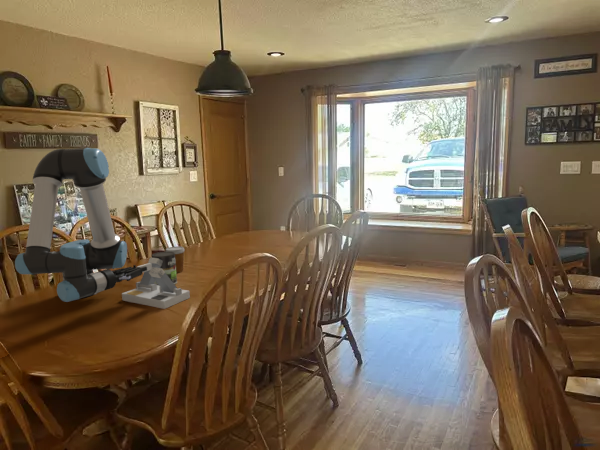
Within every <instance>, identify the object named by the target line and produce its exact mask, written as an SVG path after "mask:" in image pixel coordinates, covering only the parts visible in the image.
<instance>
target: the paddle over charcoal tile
mask: <svg viewBox="0 0 600 450" xmlns="http://www.w3.org/2000/svg"><path fill="white" fill-rule="evenodd" d="M149 274H150V275H151V276H152V277H153V279H154V280H155V281H156V282H157V284H158V285H159V286H160V287H161V288H162V290H163V291H164V292H169V293H175V289H178V288H177V286H176V284H174V283H173V282H172V281H171V279H170V278H169V277H168V276H167V274H166V273H165V272H164V270H163V269H162V268H155V267H153V268H152V269H151V270H150V272H149Z"/></svg>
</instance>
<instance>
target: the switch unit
mask: <svg viewBox="0 0 600 450" xmlns="http://www.w3.org/2000/svg"><path fill="white" fill-rule="evenodd" d="M140 282H141V280H140V281H137V282H135V288H133V289H130V290H128V291H125V292H122V293H121V297H122V298H121V299H122V301H125V302H128V303H135V304H138V305H144V306H149V307H154V308H158V309H163V310H165V309H167V308H170V307H173V306H174V305H176V304H179V303H181V302H183V301H187V300H188V299H190V298H191V296H190V295H191V294H190V290H187V289H182V288H181V287H179V288H177V289H175V293H169V292H164V291H163V290H162V288H161V287H160V286H158V285H157V284H153V285H150V287H151V288H145V287H140V286H139V283H140Z"/></svg>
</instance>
